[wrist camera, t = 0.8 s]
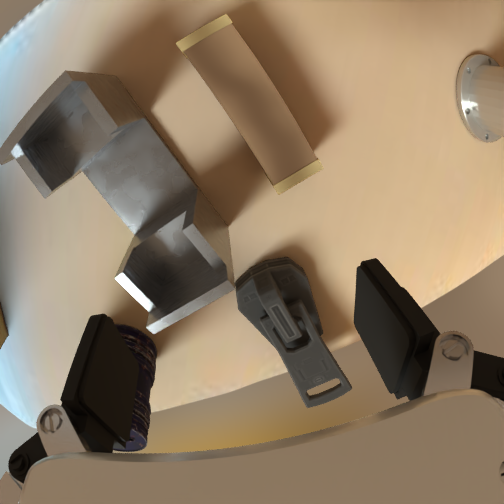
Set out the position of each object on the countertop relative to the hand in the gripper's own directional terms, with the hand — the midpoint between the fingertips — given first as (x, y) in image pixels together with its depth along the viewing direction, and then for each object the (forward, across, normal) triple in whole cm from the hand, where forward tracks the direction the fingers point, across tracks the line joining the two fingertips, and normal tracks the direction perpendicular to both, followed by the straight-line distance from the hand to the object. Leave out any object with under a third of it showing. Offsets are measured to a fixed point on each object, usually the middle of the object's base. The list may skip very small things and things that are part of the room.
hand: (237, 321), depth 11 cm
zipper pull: (+22, -6, +24) cm, 33 cm away
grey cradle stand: (+22, +8, -1) cm, 23 cm away
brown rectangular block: (+21, -4, -6) cm, 23 cm away
